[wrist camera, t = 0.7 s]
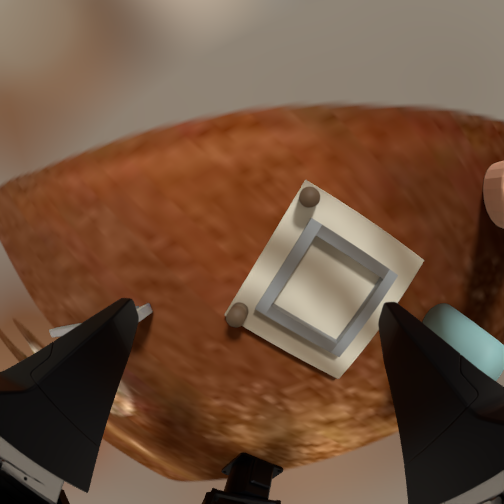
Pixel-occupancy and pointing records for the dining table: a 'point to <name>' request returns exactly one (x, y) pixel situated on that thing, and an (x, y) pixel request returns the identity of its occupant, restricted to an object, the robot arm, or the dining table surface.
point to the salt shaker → (495, 193)
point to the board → (323, 282)
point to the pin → (467, 339)
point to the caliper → (60, 331)
